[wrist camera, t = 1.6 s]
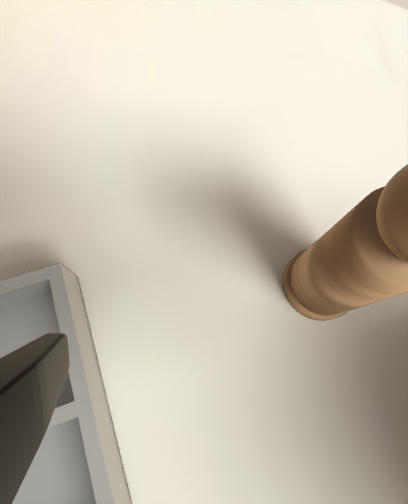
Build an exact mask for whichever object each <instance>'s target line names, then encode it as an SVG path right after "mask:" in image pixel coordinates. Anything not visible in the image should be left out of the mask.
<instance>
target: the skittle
mask: <svg viewBox="0 0 408 504" xmlns="http://www.w3.org/2000/svg"><path fill="white" fill-rule="evenodd" d="M283 288H284V292H285V295H286V297H287V299H288V301H289V302H290V304H291V305H292V306H293V307H294V309H296V310H297V311H298V312H299V313H301V314H302V315H304V316H306V317H308V318H310V319H314V320H329V319H333V318H336V317H340V316H342V315H344V314H345V313H347V312H348V311H349V310H352V309H355V308H359V307H362V306H365V305H368V304H372V303H375V302H378V301H381V300H385V299H388V298H391V297H394V296H398V295H401V294H404V293H407V292H408V165H406V166H405V167H404V168H402V169H401V170H400V171H398V172H397V173H396V174H395V175H394V176H393V177H392V178H391V180H390V181H389V182H388V183H387V185H386V186H385V187H382V188H379V189H377V190H375V191H373V192H371V193H370V194H369V195H368V196H366V197H365V198H364V199H363V200H362V201H361V202H360V203H359V204H358V205H356V206H355V207H354V208H353V209H352V210H351V211H350V212H349V213H347V214H346V215H345V216H344V217H343V218H342V219H341V220H340V221H339V222H337V223H336V224H335V225H334V226H333V227H332V228H331V229H330V230H329V231H327V232H326V233H325V234H324V235H323V236H322V237H321V238H320V239H318V240H317V241H316V242H315V243H314V244H313V245H312V246H311V247H310V248H308V249H306V250H304V251H302V252H300V253H299V254H298V255H296V256H295V257H294V258H293V259H292V260H291V261H290V262H289V264H288V265H287V267H286V269H285V271H284V275H283Z"/></svg>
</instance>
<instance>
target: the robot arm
mask: <svg viewBox="0 0 408 504" xmlns="http://www.w3.org/2000/svg"><path fill="white" fill-rule="evenodd" d="M69 364H70V360H69V348H68V338H67V335H66V334H64V333H47V334H45V335H43V336H41V337H39V338H37V339H35V340H33V341H31V342H30V343H28V344H26V345H24V346H22V347H20V348H18V349H17V350H15V351H13V352H11V353H9V354H7V355H5V356H3V357H2V358H0V504H12V503H13V501H14V499H15V497H16V494H17V492H18V490H19V488H20V486H21V484H22V482H23V480H24V478H25V476H26V474H27V472H28V470H29V467H30V465H31V463H32V461H33V459H34V457H35V455H36V453H37V451H38V449H39V447H40V445H41V442H42V440H43V438H44V436H45V434H46V431H47V428H48V426H49V423H50V421H51V418H52V415H53V412H54V409H55V407H56V404H57V401H58V398H59V396H60V393H61V390H62V387H63V384H64V382H65V379H66V376H67V373H68V370H69Z"/></svg>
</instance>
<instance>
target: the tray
mask: <svg viewBox="0 0 408 504" xmlns="http://www.w3.org/2000/svg"><path fill="white" fill-rule="evenodd" d="M47 333H64V334H66V335H67V338H68V348H69V360H70V364H69V370H68V373H67V376H66V379H65V382H64V384H63V387H62V390H61V393H60V396H59V398H58V401H57V404H56V407H55V409H54V412H53V415H52V418H51V421H50V423H49V426H48V428H47V431H46V434H45V436H44V438H43V440H42V442H41V445H40V447H39V449H38V451H37V453H36V455H35V457H34V459H33V461H32V463H31V465H30V467H29V470H28V472H27V474H26V476H25V478H24V480H23V482H22V484H21V486H20V488H19V490H18V492H17V494H16V497H15V499H14V501H13V503H12V504H132V501H131V497H130V493H129V489H128V484H127V480H126V476H125V472H124V468H123V463H122V459H121V455H120V451H119V447H118V443H117V438H116V434H115V430H114V426H113V422H112V417H111V413H110V409H109V405H108V401H107V397H106V392H105V388H104V384H103V380H102V376H101V371H100V367H99V363H98V359H97V355H96V351H95V346H94V342H93V338H92V334H91V330H90V325H89V321H88V317H87V313H86V309H85V304H84V300H83V296H82V292H81V288H80V284H79V279H78V277H77V276H76V275H74V274H73V273H72V272H71V271H69V270H68V269H67V268H66V267H65V266H63V265H62V264H61V263H58V264H55V265H51V266H48V267H44V268H41V269H38V270H34V271H31V272H28V273H24V274H21V275H18V276H14V277H11V278H8V279H4V280H1V281H0V358H2V357H3V356H5V355H7V354H9V353H11V352H13V351H15V350H17V349H18V348H20V347H22V346H24V345H26V344H28V343H30V342H31V341H33V340H35V339H37V338H39V337H41V336H43V335H45V334H47Z"/></svg>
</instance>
